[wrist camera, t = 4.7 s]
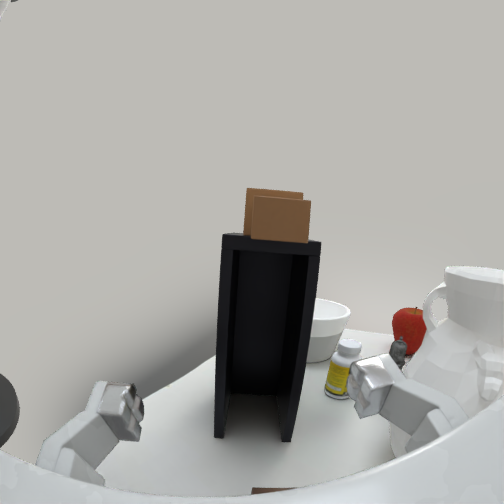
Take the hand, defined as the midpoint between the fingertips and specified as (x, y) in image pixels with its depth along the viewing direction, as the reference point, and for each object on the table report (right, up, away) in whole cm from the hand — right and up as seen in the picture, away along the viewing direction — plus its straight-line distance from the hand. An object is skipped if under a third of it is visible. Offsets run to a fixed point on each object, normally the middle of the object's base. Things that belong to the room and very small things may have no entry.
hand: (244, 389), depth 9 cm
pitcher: (+23, -22, +11) cm, 34 cm away
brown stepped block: (+2, +6, +19) cm, 21 cm away
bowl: (+12, -18, +52) cm, 57 cm away
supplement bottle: (+15, -20, +33) cm, 42 cm away
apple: (+39, -20, +49) cm, 66 cm away
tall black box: (0, -19, +27) cm, 33 cm away
